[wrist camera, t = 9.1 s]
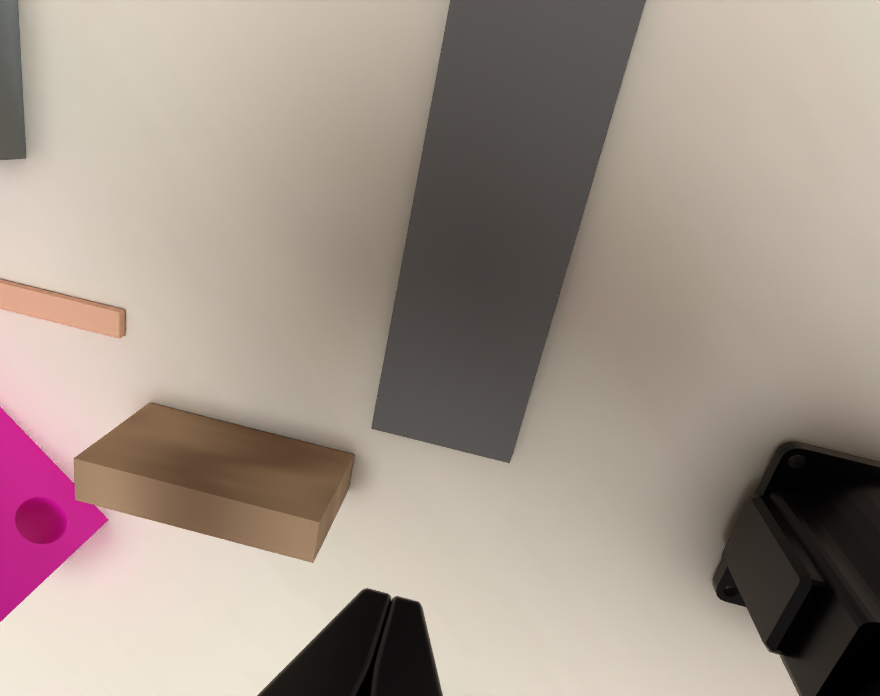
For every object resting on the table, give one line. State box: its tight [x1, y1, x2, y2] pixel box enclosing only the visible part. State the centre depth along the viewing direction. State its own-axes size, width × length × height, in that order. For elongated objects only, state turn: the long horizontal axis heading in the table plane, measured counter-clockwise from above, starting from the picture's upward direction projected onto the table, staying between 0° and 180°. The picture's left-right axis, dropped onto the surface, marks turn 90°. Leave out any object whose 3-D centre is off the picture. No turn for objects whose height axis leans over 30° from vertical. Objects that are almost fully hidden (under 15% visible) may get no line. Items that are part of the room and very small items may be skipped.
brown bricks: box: [74, 403, 354, 563], centre depth 16 cm, size 8×24×4 cm, turn 168°
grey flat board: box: [372, 0, 646, 463], centre depth 17 cm, size 5×18×1 cm, turn 168°
